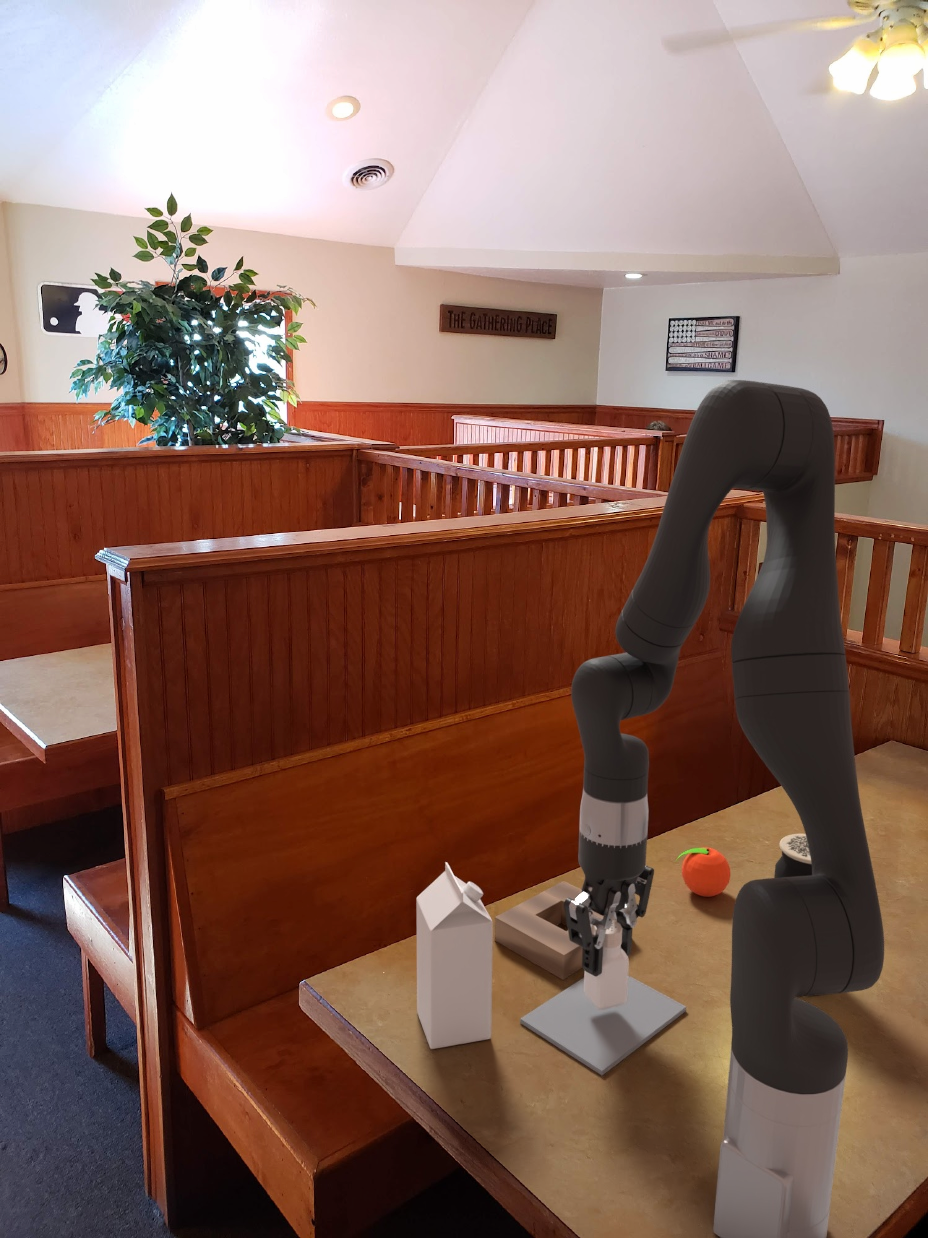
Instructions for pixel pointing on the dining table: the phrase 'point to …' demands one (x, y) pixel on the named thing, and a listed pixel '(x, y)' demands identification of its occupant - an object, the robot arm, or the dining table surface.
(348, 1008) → the dining table surface
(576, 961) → the shaker holder
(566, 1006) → the placemat
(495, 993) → the dining table surface
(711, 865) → the clementine
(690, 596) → the robot arm
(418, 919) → the milk carton
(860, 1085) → the dining table surface
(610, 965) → the salt shaker
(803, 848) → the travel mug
